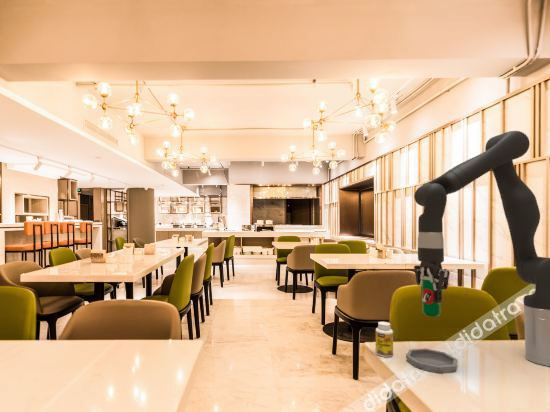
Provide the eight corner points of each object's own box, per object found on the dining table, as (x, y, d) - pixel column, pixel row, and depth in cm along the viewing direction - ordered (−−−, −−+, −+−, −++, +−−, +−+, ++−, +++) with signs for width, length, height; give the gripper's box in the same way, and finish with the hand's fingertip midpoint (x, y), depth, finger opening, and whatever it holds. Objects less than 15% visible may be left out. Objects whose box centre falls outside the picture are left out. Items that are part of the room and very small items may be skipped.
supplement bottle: (375, 356, 108) (374, 324, 108) (376, 350, 113) (376, 320, 114) (393, 358, 106) (392, 326, 106) (393, 352, 111) (393, 322, 112)
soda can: (442, 317, 100) (441, 277, 101) (424, 316, 101) (424, 276, 102) (437, 313, 105) (437, 275, 106) (420, 312, 106) (420, 274, 107)
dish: (435, 353, 111) (435, 347, 111) (468, 371, 97) (467, 364, 98) (398, 355, 108) (398, 350, 108) (426, 374, 95) (426, 368, 95)
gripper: (457, 248, 98) (458, 305, 97) (426, 245, 112) (426, 295, 112) (435, 248, 97) (436, 306, 96) (406, 245, 111) (406, 296, 110)
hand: (431, 300), depth 104 cm, fingers closed on soda can, 5 cm apart
